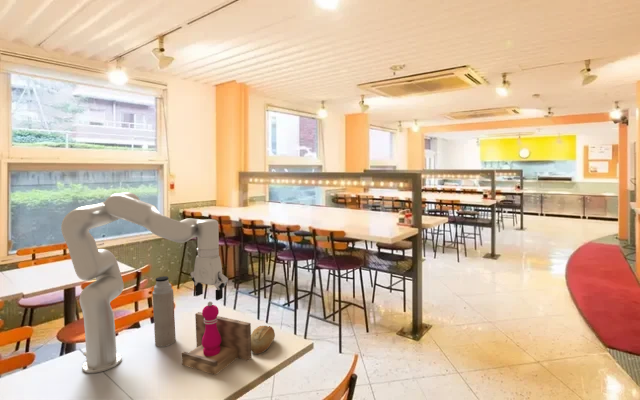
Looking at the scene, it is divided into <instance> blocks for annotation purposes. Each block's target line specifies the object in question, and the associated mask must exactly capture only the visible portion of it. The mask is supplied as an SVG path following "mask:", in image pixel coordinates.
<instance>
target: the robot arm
mask: <svg viewBox="0 0 640 400" xmlns="http://www.w3.org/2000/svg"><path fill="white" fill-rule="evenodd" d="M118 220H124V221H126V222H129V223H132V224H134V225H138V226H140V227H143V228H146V230H147V231H149V232H151V233H152V234H154V235H155V236H157V237H160V238H163V239H164V240H165V239H166V240H168V241H171V242H175V243H179V244H181V243H183V244H184V243H186V242H188V241H190V240H191V239H194V238H197V248H196V252H197V255H196V256H195V261H194V269H193V271H191V272H190V273H189V275H190V276H191V281H192V282H193V285H194V286H195V288H194V289H195V296H196V297H198V296H200V295H203V294H204V289H203V288H204V287H203V284H204V285H209V286H215V288H216V289H215V301H220V300H222V299H223V298H224V297H223V296H224V295H223V291H224V290H223V289H224V288H225V287H226V285H227V283H228V281H229V278H228V277H227V276H226V275H224V274H223V267H222V266H223V265H222V260H221V256H220V245H219V242H220V240H219V236H220V235H219V231H220V229H219V228H220V227H219V222H218V220H217V219H214V218H213V219H211V218H208V219H207V218H206V219H199V218H191V217H190V218H188V217H187V218H185V219H182V220H177V219H174V218H171V217H168V216H166V215H164V214H162V213H161V212H160V211H159V209H158V208H157V206H156V205H155V204H151V203H149V202H145V201H143V200H140V198H139V197H138V196H137V195H136V194H134V193H133V192H119V193H112V194H111V195H110V196H108V197H107V198H106V200H105V201H103V202H99V203H96V204H89V205H83V206H79V207H76V208H75V209H72V210H71V211H69V212H68V213H67V214H66V215H65V216H64V217H63V220H62V222H61V226H60V227H61V228H60V230H61V234H62V237H63V240H64V241H65V244H66V247H67V250H68V253H69V257H70V259H71V263H72V266H73V269H74V271H75V274H76V276H77V277H78V278H79V279H80V280H81V281H92V280H95V281H93V282H92V283H89V284H88V285H87V286H85V287H84V289H82V290H81V293H80V295H79V306H80V308H81V311H82V317H83V326H84V339H85V340H84V341H85V352H83V356H85V359H86V360H85V361H84V362H83V364H82V366H81V368H82V371H83V372H85V373H88V374H96V373H97V374H98V373H101V372H105V371H108V370H111V369H113V368H114V367H116V366H117V365H120V363H121V361H122V355H121V354H120V353H118V352H117V341H116V340H117V339H116V338H117V337H116V325H115V314H114V310H113V308H112V306H111V302H112V301H113V300H115V299H116V298H117V297H118V296H120V295H121V294H122V293H123V291H124V281H123V276H122V273H121V270H120V266H119V264H118V261H117V258H116V256H115V255H114V253H113V252H112V251H110V250H109V249H105V248H98V245H97V243H96V240H95V238H94V236H93V235H92V234H91V232H90V230H91V229H96V228H98V227H102V226H105V225H108V224H111V223H113V222H116V221H118Z"/></svg>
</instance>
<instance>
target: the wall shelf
mask: <svg viewBox="0 0 640 400" xmlns="http://www.w3.org/2000/svg"><path fill="white" fill-rule="evenodd" d="M194 316H195V334H196V335H195V338H196V339H195V340H196V348H194V349H192V350H191V351H189V352H187V351H183V352H181V364H182V366H185V367H188V368H192V369H195V370H198V371H201V372H205V373H209V374H211V375H214V376H215V375H218V374H219V373H220V372H221V371H222V370H224V369H226V368H227V367H228V366H229V365H230V364H232V363H233V362H234V361H237V359H241V360H245V361H247V362H248V361H250V360H251V359H252V351H251V334H252V329H251V328H252V327H251V326H252V325H251V322H247V321H243V320H242V321H241V320H237V319H234V318H228V317H224V316H220V315H217V320H218V321H217V323H216V325H217V329H218V332H219V333H220V336H221V343H220V353H219V354H217V355H215V356H205V355H204V354H203V349H204V347H203V346H202V337H203V335H204V332H205V323H204V317H203V316H202V311H201V312H200V311H198V312H196V313H195V315H194Z"/></svg>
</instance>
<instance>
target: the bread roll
mask: <svg viewBox="0 0 640 400" xmlns="http://www.w3.org/2000/svg"><path fill="white" fill-rule="evenodd" d="M275 336H276V333H275V330H274V328H273V327H272V326H271V325H259V326H256V328H255V329H253V330H252V331H251V353H253V354H262V353H264V352H266V350H268V349H269V347H270V346H271V344H272V343H273V341H274V339H276V338H275Z"/></svg>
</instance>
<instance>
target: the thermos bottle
mask: <svg viewBox="0 0 640 400" xmlns="http://www.w3.org/2000/svg"><path fill="white" fill-rule="evenodd" d="M174 298H175V297H174V289H173V288H172V283H170V282H169V276H168V275H167V276H164V275H163V276H158V277H156V278H155V285H154V286H153V291H152V310H153V324H154V331H153V332H154V345H155V346H156V347H161V348H162V347H163V348H164V347H168V346H171V345H173V344H174V343H175V342H176V340H177V339H176V318H175V302H174V301H175V300H174Z"/></svg>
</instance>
